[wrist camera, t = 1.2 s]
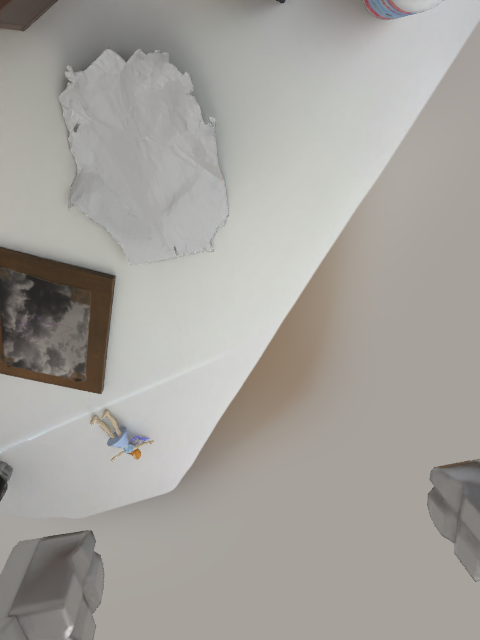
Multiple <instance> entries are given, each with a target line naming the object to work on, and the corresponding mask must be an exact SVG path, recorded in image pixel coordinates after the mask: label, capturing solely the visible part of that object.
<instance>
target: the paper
mask: <svg viewBox="0 0 480 640" xmlns="http://www.w3.org/2000/svg"><path fill="white" fill-rule="evenodd" d="M169 56H170V53H169V52H165V53H161V52H160V50H154V52H153V53H150V52H149V53H148V55H147V54H145V53H144V52H143V51H142V50H141V49H138V50H136V51H135V53H134V54H133V55H132V56H131V57H130V58H129V60H128V61H127V62H125V61H124V60H123V59H122V58H121V57H120V56H119V55H117V53H116V52H114V51H111V50H110V49H109V48H107V49H106V50H105V51H104V52H103V54H102V55H100V56H99V57H98V58H97V59H96V60H95V61H93V63H92V64H91V65H90V66H89V67H88V68H87V69H85V70H84V71H83V72H82V71H79V72H75V73H74V72H73V70H72V69H73V68H72V67H71V66H70V65H68V66H67V67H66V68H67V70H68V71H67V72H65V75H66V77H67V79H68V80H69V81H71V83H67V88H66V89H65V90H64V91H63V93H62V94H60V96H59V97H58V99H59V102H60V103H61V105H62V110H63V115H64V119H65V123H66V126H67V128H68V130H69V132H70V135H69V137H68V139H67V140H68V142H69V145H70V150H71V152H72V153H73V156H74V158H75V161H76V164H77V177H76V179H75V181H74V183H73V185H72V186H71V189H70V194H69V198H68V208H69V209H70V208H71V206H76V207H77V208H79V209H80V210H81V211H82V212H83V214H86V215H87V216H88V217H89V218H90V219H91V220H92V221H94V222H95V223H96V224H98V225H99V226H101V227H103V228H104V229H106V230H107V231H108V232H109V234H110V235H111V236H113V237H114V238H115V239H116V240H117V242H118V243H119V244H120V246H121V247H122V250H123V252H124V254H125V256H126V257H127V259H128V261H129V263H130V265H131V266H132V265H138V264H144V263H151V262H156V261H162V260H168V259H173V258H177V257H176V253H175V252H174V251H175V249H173V248H174V247H176V251H177V253H178V255H179V256H180V257H182V256H184V255H183V253H184V254H185V255H190V254H195V253H194V252H196V253H203V250H204V249H207V251H208V252H211V251H214V250H213V249H212V247H211V244H210V240H212V238H213V237H214V236H215V232H217V227H219V226H224V225H225V222H226V217H228V216H229V212H228V204H227V196H226V186H225V180H224V178H223V176H222V174H221V171H220V169H219V164H218V158H217V148H216V138H215V135H214V134H215V132H216V120H215V118H211V117H209V119H210V121H211V122H212V123H213V124H214V126H215V129H214V128H213V127H212V125H211V124H210V123H208V126H207V125H206V124H205V122H204V121H203V119H202V114H201V109H200V106H199V104H198V103H197V102H196V99H195V97H194V96H191V95H190V94H191V91H194V89H193V87H192V85H193V83H192V80H191V78H190V76H189V74H188V72H187V71H186V72H185V73H184V74H183V75H182V74H181V72H180V71H179V69H177V68H175V66H174V65H172V64H171V63H169V62H168V60H169ZM76 124H79V125H80V126H78V128H77V131H76V132H74V131H73V129H74V127H75V125H76ZM216 225H217V227H216Z"/></svg>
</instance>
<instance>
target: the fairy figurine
mask: <svg viewBox="0 0 480 640" xmlns="http://www.w3.org/2000/svg"><path fill="white" fill-rule="evenodd" d="M106 416H107V417H108V418H109V419H110V421H111V423H112V425H113V427H114V429H115V431H116V432H115V433H114V434H113V433H112V432H111V429H110V428H109V427H108V426H107V425H106V424H104V423H103V422H101V421H100V420H99V419H98V417H97V416H94V417H93V418H92V420H91V422H90V425H92V424H93V423H94V422H97V423H98V424H99V426H100V427H101V428H102V429H103V430H104V431H105V432H106V433H108V436H109V437H110V438H109V440H108V443H107V445H108V446H113V447H119V448H123V449H125V451H122V452H121V453H119V454H118V455H116V456H115V457H113V458H112V459H111V461H113V460H114V459H115V458H116V457H118V456H120V455H122V454H123V453H127V454H131V455H132V456H133V457H134V458H135V459H139V458H140V456H141V452H140V450H139V449H138V448H139V447H140V446H142V445H145V444H147V443H150V444H152V442H154V440H153V441H149V442H144V441H146V439H147V438H146V439H145V438H142V437H141V438H140V437H139V436H136V437H134V438H133V439H132V441H134V439H135V440H136V438H138V439H139V440H140V439H141V440H144V441H143V443H141V444H139V443H138V442H137V443H138V445H136V444H137V443H136V444H134V445H133V444H132V443H131V444H129V443H128V436H127V431H126V428H125V427H123V428H120V429H119V428H118V425H117V421H116V420H115V419H114V418H113V417H112V416H111V414H110V413H109V411H108V410H106V411H105V412H104V413H103V415H102V419H104V418H105V417H106ZM148 439H149V438H148ZM139 440H138V441H139ZM141 442H142V441H141ZM134 443H135V442H134ZM130 452H132V453H130Z"/></svg>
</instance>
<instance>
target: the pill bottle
mask: <svg viewBox="0 0 480 640" xmlns="http://www.w3.org/2000/svg"><path fill="white" fill-rule="evenodd" d="M442 1H443V0H363V2H364V4H365V6H366V8H367V9H368V11H369V12H370V13H371V14H372V15H374V16H375V17H377V18H380V19H384V20H390V19H396V18H400V17H404V16H408V15H412V14H416V13H420V12H424V11H426V10H429V9H431V8H433V7H435V6H437V5H438V4H440V3H441V2H442Z"/></svg>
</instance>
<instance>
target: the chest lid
mask: <svg viewBox="0 0 480 640" xmlns="http://www.w3.org/2000/svg"><path fill="white" fill-rule="evenodd" d="M17 1H18V0H0V17H1V16H2V15H3V14H4V13H5V12H6V11H7V10H8V9H10V8H11V7H12V6H13V5H14V4H15V3H16V2H17Z"/></svg>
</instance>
